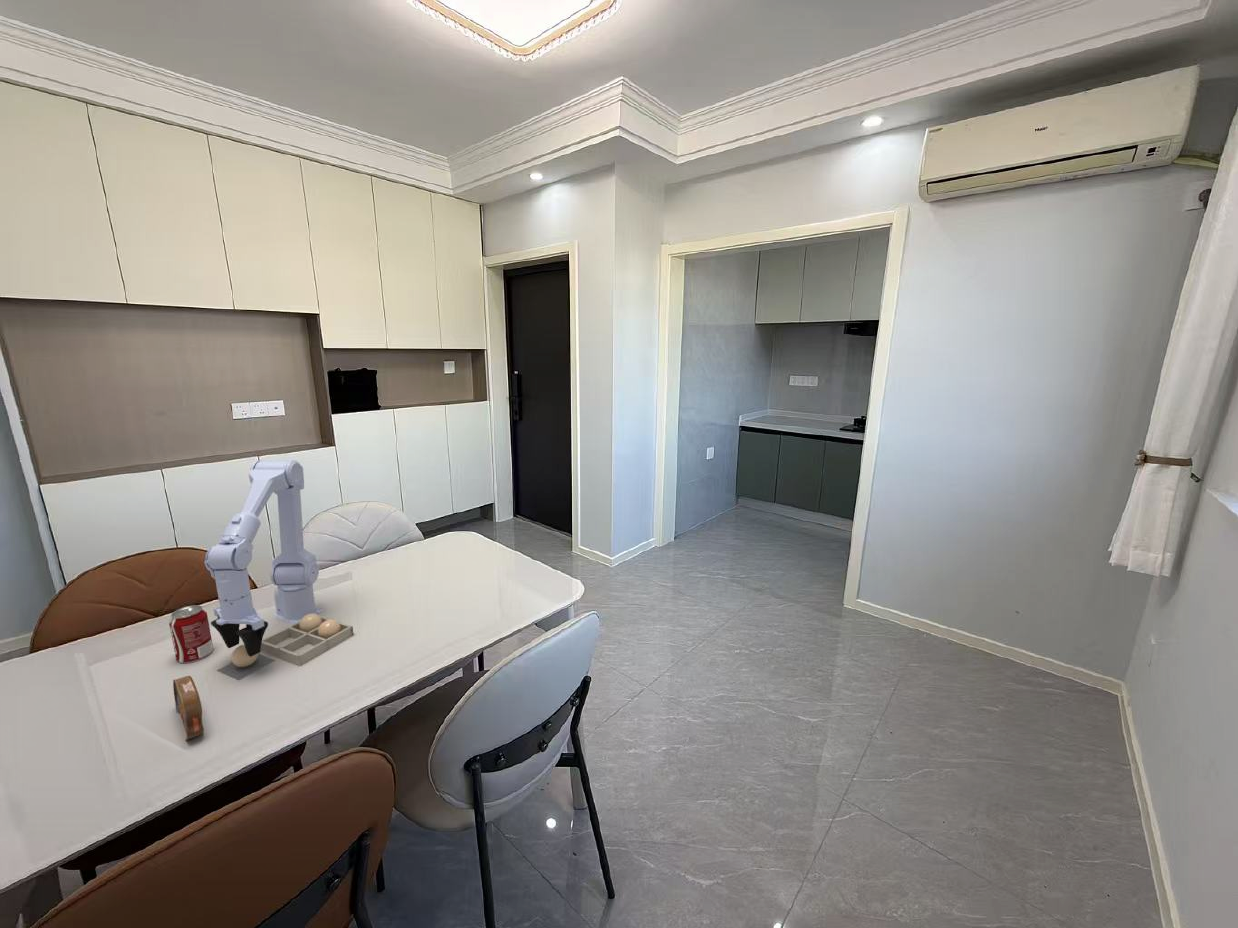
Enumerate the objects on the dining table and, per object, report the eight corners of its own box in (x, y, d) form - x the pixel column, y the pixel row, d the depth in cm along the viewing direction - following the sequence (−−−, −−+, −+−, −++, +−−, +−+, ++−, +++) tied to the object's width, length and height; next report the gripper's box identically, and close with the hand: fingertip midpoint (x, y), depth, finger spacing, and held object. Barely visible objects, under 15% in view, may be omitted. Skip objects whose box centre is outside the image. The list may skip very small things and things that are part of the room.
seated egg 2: (314, 641, 124) (311, 623, 123) (332, 631, 129) (330, 614, 128) (328, 646, 122) (325, 628, 121) (346, 636, 127) (344, 618, 126)
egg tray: (260, 652, 120) (258, 641, 120) (315, 624, 133) (314, 613, 132) (300, 668, 115) (298, 656, 114) (353, 636, 128) (352, 626, 127)
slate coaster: (216, 672, 113) (216, 670, 113) (254, 653, 120) (253, 651, 120) (239, 682, 110) (238, 680, 109) (275, 662, 117) (275, 660, 117)
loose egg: (227, 668, 113) (224, 648, 112) (251, 656, 118) (248, 637, 117) (241, 674, 111) (238, 654, 110) (264, 661, 116) (261, 642, 115)
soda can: (220, 652, 120) (212, 606, 118) (189, 668, 114) (180, 621, 111) (201, 646, 122) (193, 601, 120) (169, 662, 116) (160, 615, 113)
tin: (175, 709, 101) (167, 673, 99) (195, 702, 103) (188, 666, 102) (187, 749, 91) (179, 710, 89) (209, 740, 94) (202, 701, 92)
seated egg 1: (295, 635, 127) (293, 617, 126) (314, 625, 131) (312, 608, 130) (309, 639, 125) (306, 621, 124) (327, 630, 130) (325, 612, 128)
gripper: (194, 596, 110) (204, 651, 113) (235, 610, 104) (245, 667, 107) (229, 583, 116) (238, 635, 119) (270, 595, 111) (278, 650, 114)
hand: (243, 649), depth 114 cm, fingers open, 7 cm apart
